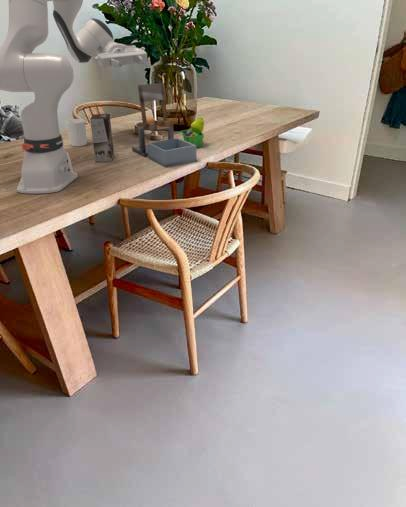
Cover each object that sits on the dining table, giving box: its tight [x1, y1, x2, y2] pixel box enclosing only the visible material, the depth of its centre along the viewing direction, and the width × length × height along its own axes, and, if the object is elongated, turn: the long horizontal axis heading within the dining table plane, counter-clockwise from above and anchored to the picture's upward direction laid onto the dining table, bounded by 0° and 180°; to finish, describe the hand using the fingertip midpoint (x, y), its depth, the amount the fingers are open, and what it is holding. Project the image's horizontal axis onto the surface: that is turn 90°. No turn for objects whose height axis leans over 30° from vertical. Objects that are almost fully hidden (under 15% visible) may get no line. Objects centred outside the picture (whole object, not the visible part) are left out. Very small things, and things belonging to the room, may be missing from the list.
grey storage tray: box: [146, 137, 198, 168], centre depth 163 cm, size 14×14×6 cm
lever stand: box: [131, 126, 175, 158], centre depth 172 cm, size 11×15×11 cm
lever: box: [137, 82, 174, 132], centre depth 165 cm, size 15×10×17 cm
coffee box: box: [89, 113, 115, 163], centre depth 162 cm, size 9×6×16 cm
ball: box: [146, 116, 155, 124], centre depth 171 cm, size 4×4×4 cm
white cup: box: [65, 118, 88, 147], centre depth 182 cm, size 8×8×10 cm
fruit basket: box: [181, 116, 205, 148], centre depth 180 cm, size 11×9×11 cm
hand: (130, 62), depth 167 cm, fingers open, 8 cm apart
